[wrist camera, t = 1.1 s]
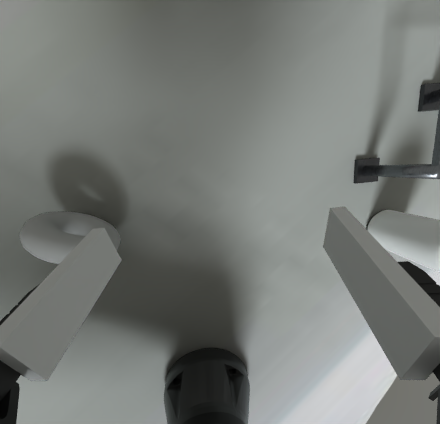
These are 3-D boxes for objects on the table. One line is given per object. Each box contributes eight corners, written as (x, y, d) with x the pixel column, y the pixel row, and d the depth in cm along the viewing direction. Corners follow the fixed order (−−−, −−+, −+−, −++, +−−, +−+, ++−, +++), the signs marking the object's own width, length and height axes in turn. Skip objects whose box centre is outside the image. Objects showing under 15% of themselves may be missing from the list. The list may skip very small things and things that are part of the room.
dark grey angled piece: (430, 175, 34) (529, 177, 24) (353, 183, 33) (424, 189, 22) (442, 84, 31) (562, 43, 21) (358, 89, 30) (442, 48, 19)
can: (397, 203, 34) (500, 221, 23) (402, 237, 36) (501, 270, 24) (362, 217, 34) (447, 242, 22) (368, 250, 36) (451, 290, 24)
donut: (56, 224, 29) (-14, 251, 19) (63, 201, 29) (-7, 219, 19) (126, 246, 31) (93, 282, 21) (133, 226, 30) (103, 253, 21)
